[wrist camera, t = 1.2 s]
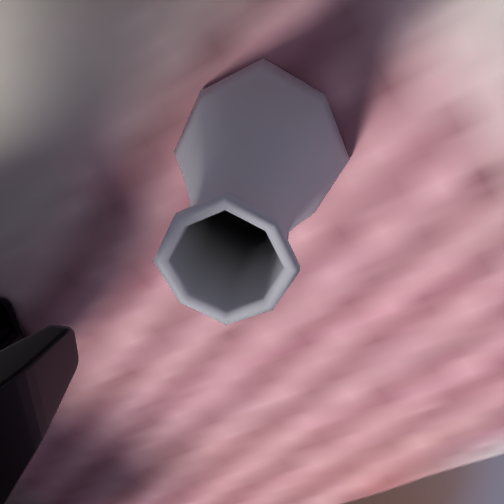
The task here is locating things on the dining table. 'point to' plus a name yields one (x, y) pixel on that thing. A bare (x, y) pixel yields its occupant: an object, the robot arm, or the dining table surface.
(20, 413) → the robot arm
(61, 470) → the dining table surface
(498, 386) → the dining table surface
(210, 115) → the flask
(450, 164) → the dining table surface
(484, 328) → the dining table surface
